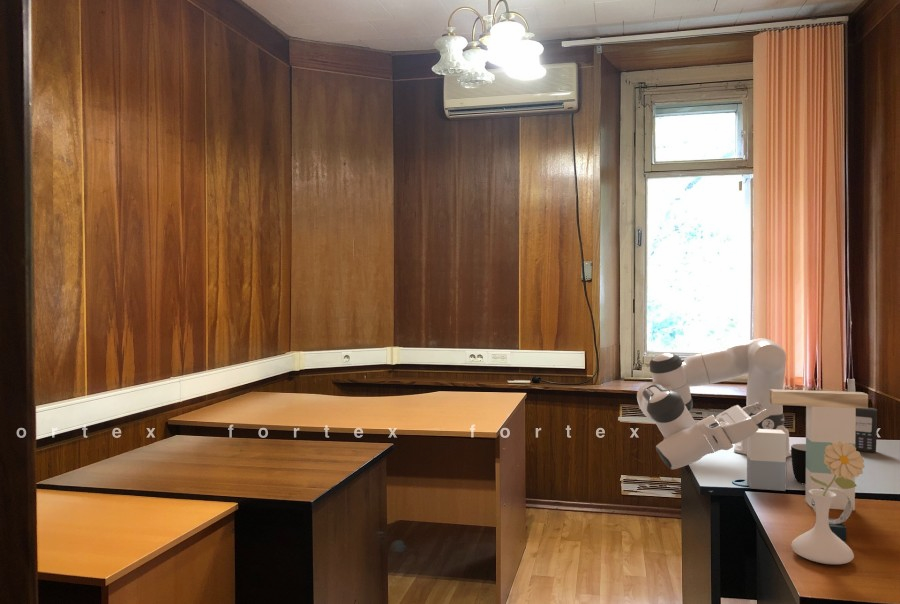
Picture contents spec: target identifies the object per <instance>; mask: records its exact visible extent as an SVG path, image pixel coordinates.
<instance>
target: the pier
mask: <svg viewBox="0 0 900 604" xmlns="http://www.w3.org/2000/svg"><path fill="white" fill-rule="evenodd" d="M786 458H787V457H786V433H785V432H783V431H782V430H775V429H758V430H757V431H756V432H755V433H754V434H753V435H751V436H749V437H747V455H746V485H747V486H748V485H749V486H748V487H749V489H754V490H764V491H765V490H769V491H783V492H786V487H787V486H786V482H787V481H786V480H787V479H786V476H787V475H786V467H787V466H786V465H787V464H786V463H787V462H786V461H787V459H786Z"/></svg>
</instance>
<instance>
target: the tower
mask: <svg viewBox="0 0 900 604" xmlns="http://www.w3.org/2000/svg"><path fill="white" fill-rule="evenodd" d="M805 407H806V408H805V444H806V484H805V503H807V504H808V505H809V507H810V508H813V506H812V504H811V503H812V499H813V497H812V496H811V494H810V493H809V490H812V489H820V488H825V487H826V486H823V485H821V484H819V483H816V482H814V481H813V480H812V479H811V476H812V477H813V478H815V479H817V480H819V481H821V482H824V483H826V484H827V485H829V484H830V482H831V481H832V480H833V478H834V476H835V474H832V473H831V469H828V467H827V465H826V464H825V463H824V461H825V459H824V458H825V457H824V454H826V452H825V449H826V446H828V445H831V446H832V443H833V442H837V441H838V440H839V441H841V442H843V443H844V442H847V443H848V444H849V445H850V444H851V445H853V446H854V447H855V425H856V408H846V407H820V406H805ZM853 476H854V475H853ZM838 477H839V476H837V475H836V478H838ZM836 478H835V479H836ZM851 480H852V481H853V482H854V483H855V484H856V476H854V478H853V479H851ZM830 487H836V488H839V489H841V490H843V491H844V492H845V493H846V494H847V495H848V496H849V497H850V498H851V500H852V504H853V510H852V511H856V504H855V503H856V501H855V499H856V498H855V497H856V487H853V488H849V489H843V488H841V487H840V486H839V485H837V483H836V482H835V480H834V482H833V483H832V484H831V486H830ZM832 492H833V493H835V494H836V497H835V498H834V499H833V500H832V502H831V504H830V508H829V510H843V511H844V510H845V508H846V505H847V502H848V498H847V496H846V495H845V494H843V493H841V492H839V491H832Z"/></svg>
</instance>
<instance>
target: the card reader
mask: <svg viewBox="0 0 900 604" xmlns="http://www.w3.org/2000/svg"><path fill="white" fill-rule="evenodd" d="M877 423H878V409H877V408H874V407H868V408H856V425H855V448H856V451H858V452H861V453H862V452H863V453H872V454H873V453H877V441H878V440H877V438H878V436H877V435H878V430H877V429H878V427H877V426H878V424H877Z"/></svg>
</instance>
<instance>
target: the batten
mask: <svg viewBox="0 0 900 604" xmlns="http://www.w3.org/2000/svg"><path fill="white" fill-rule="evenodd" d="M770 403H771V404H772V405H783V406H797V407H799V406H800V407H806V406H820V407H846V408H869V394H867V392H866V393H865V392H861V391H835V390H833V391H832V390H830V391H829V390H804V389H803V390H801V389H783V390H775V389H770Z"/></svg>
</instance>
